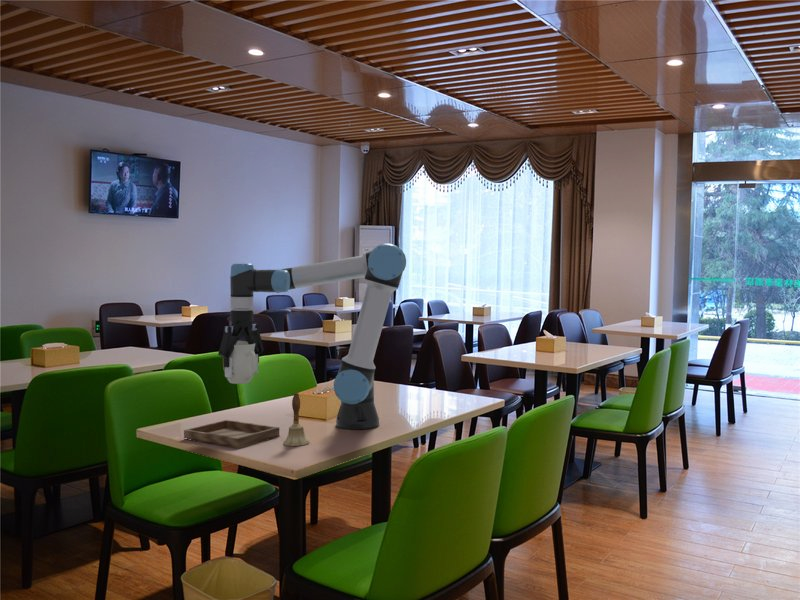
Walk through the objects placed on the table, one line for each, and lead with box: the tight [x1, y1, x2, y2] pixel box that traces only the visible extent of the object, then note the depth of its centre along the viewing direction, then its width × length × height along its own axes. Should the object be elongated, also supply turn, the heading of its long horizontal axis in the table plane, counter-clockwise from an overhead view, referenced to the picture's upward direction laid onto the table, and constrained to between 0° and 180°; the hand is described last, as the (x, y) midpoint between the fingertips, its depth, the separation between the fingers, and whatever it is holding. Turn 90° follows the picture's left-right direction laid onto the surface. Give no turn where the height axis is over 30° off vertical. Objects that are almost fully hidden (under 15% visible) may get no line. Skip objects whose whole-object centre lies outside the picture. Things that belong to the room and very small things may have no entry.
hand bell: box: [282, 392, 310, 447], centre depth 233 cm, size 8×8×16 cm
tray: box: [183, 419, 280, 449], centre depth 241 cm, size 24×19×3 cm
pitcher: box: [222, 340, 257, 385], centre depth 247 cm, size 11×18×14 cm, turn 43°
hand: (241, 375), depth 248 cm, fingers closed on pitcher, 11 cm apart
